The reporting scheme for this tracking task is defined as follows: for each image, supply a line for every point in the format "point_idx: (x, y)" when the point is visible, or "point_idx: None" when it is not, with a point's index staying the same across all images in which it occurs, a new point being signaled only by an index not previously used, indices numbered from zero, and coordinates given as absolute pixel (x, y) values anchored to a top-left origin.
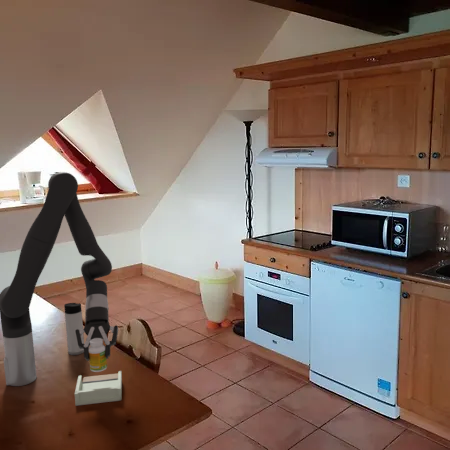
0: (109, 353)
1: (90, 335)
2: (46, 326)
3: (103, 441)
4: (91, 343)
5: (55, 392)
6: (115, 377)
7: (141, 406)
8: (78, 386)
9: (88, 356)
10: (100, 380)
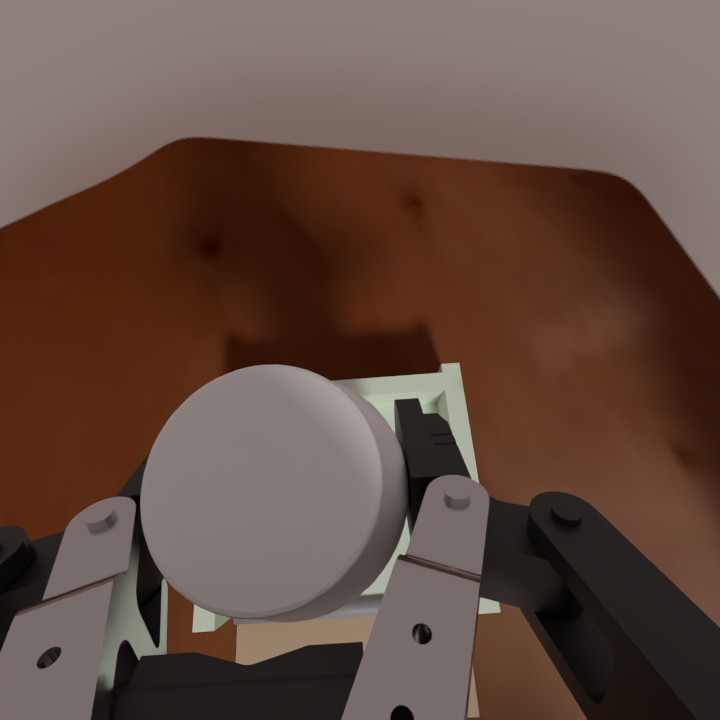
0: None
1: (394, 662)
2: None
3: (299, 160)
4: (344, 394)
5: None
6: (258, 660)
7: (153, 336)
8: (458, 444)
9: (397, 426)
10: (349, 604)
